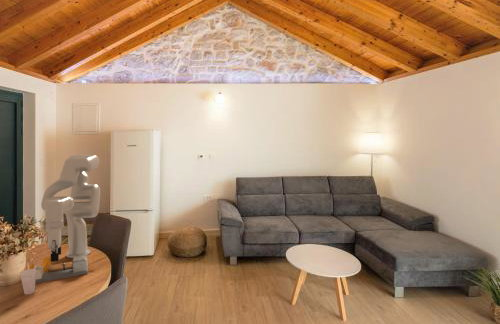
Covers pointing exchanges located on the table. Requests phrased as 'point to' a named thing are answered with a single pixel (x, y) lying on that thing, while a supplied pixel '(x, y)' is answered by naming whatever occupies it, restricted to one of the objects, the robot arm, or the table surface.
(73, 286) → the table surface
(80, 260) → the sleeve
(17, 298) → the table surface
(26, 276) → the smoothie
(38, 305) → the table surface
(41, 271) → the light grey u-shaped block
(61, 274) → the board
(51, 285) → the table surface
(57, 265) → the tube
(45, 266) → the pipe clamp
